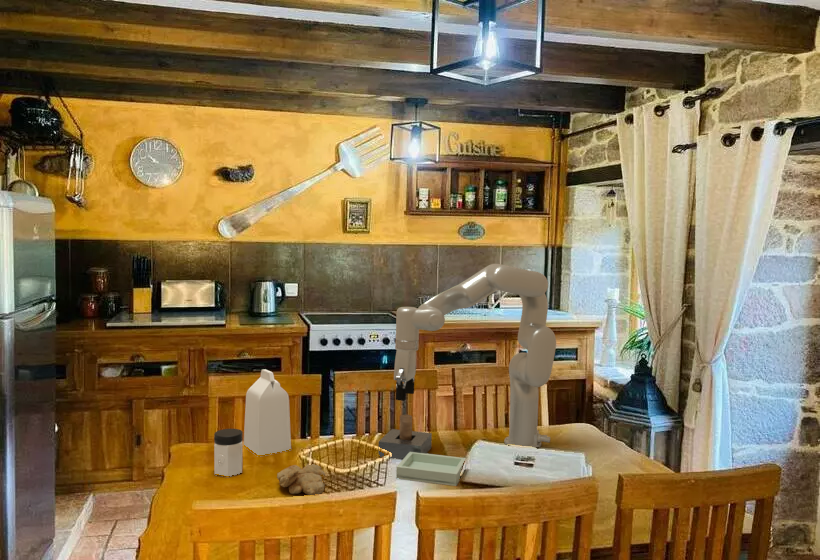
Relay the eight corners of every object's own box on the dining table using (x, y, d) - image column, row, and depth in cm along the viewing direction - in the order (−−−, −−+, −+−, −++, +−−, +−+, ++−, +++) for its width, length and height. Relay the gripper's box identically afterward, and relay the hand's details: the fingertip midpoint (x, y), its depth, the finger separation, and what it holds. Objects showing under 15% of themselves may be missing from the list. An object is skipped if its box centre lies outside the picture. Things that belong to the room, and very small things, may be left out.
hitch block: (431, 447, 221) (431, 433, 221) (420, 461, 208) (420, 446, 207) (391, 443, 225) (391, 429, 225) (378, 456, 212) (378, 441, 211)
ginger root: (282, 472, 193) (288, 447, 192) (332, 488, 191) (339, 463, 190) (261, 494, 178) (267, 467, 177) (316, 513, 176) (323, 485, 175)
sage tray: (465, 469, 202) (466, 458, 201) (456, 486, 188) (456, 474, 188) (409, 462, 207) (409, 451, 206) (396, 478, 193) (396, 466, 193)
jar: (207, 474, 194) (207, 434, 193) (223, 465, 201) (223, 427, 200) (234, 478, 191) (233, 438, 190) (249, 469, 199) (249, 430, 198)
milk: (243, 446, 219) (243, 369, 217) (275, 440, 226) (275, 365, 224) (258, 456, 210) (258, 376, 208) (291, 450, 216) (291, 372, 214)
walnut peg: (412, 450, 218) (413, 415, 217) (409, 454, 214) (410, 418, 213) (401, 449, 219) (402, 414, 218) (397, 453, 215) (398, 417, 214)
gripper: (403, 340, 223) (401, 389, 224) (387, 348, 206) (385, 401, 208) (424, 342, 221) (422, 392, 222) (410, 350, 204) (408, 404, 205)
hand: (404, 396), depth 215 cm, fingers open, 9 cm apart
